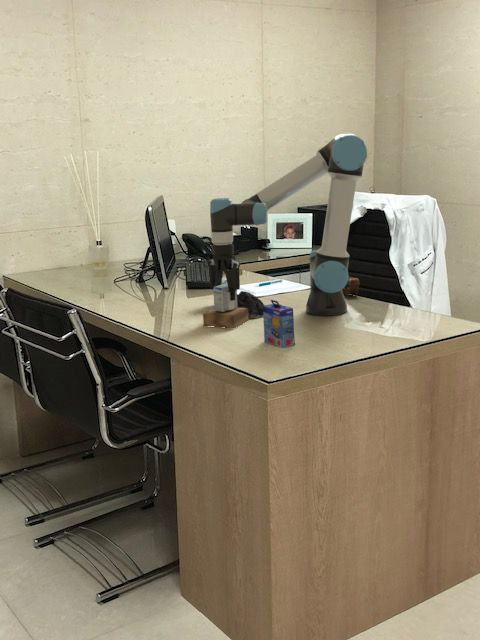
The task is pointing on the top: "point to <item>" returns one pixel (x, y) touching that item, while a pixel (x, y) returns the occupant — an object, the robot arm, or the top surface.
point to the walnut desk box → (226, 318)
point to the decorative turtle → (351, 287)
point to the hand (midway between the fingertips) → (225, 308)
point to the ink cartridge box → (278, 325)
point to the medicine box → (222, 298)
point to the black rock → (250, 304)
